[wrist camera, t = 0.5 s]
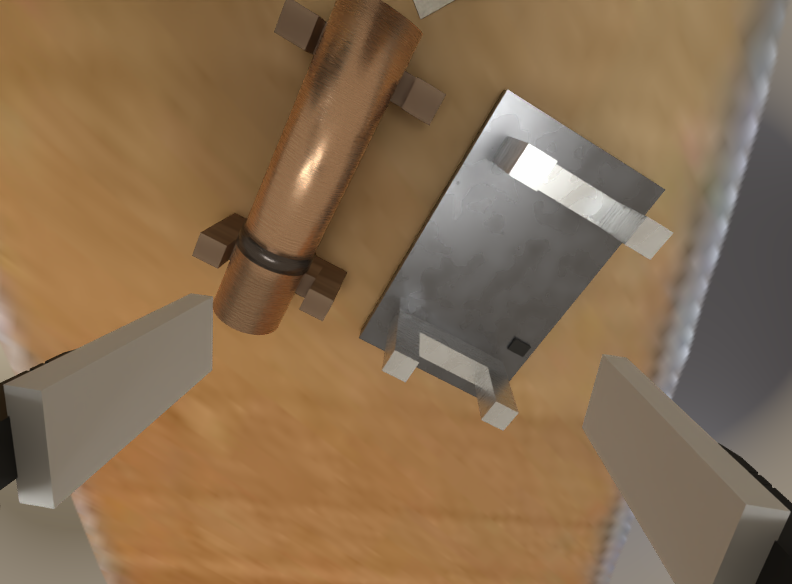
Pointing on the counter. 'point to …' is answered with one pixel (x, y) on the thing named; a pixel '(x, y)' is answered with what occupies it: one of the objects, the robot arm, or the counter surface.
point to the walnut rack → (221, 237)
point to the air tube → (315, 160)
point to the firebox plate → (509, 254)
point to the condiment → (429, 6)
